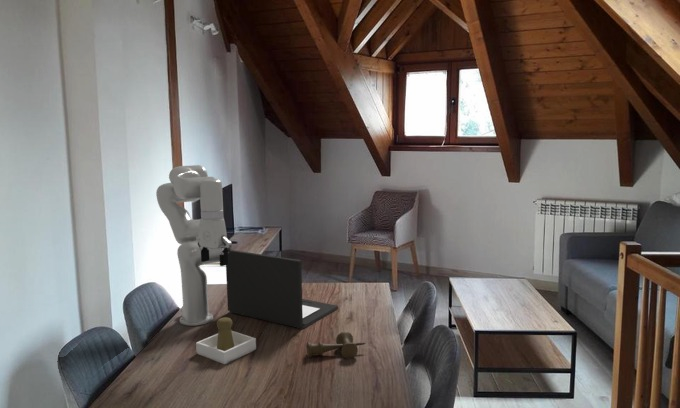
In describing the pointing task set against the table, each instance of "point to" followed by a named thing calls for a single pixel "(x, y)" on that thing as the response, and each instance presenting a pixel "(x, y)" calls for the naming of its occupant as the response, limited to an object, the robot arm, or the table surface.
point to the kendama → (335, 346)
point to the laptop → (270, 290)
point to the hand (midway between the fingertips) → (214, 263)
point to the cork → (224, 334)
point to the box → (241, 348)
